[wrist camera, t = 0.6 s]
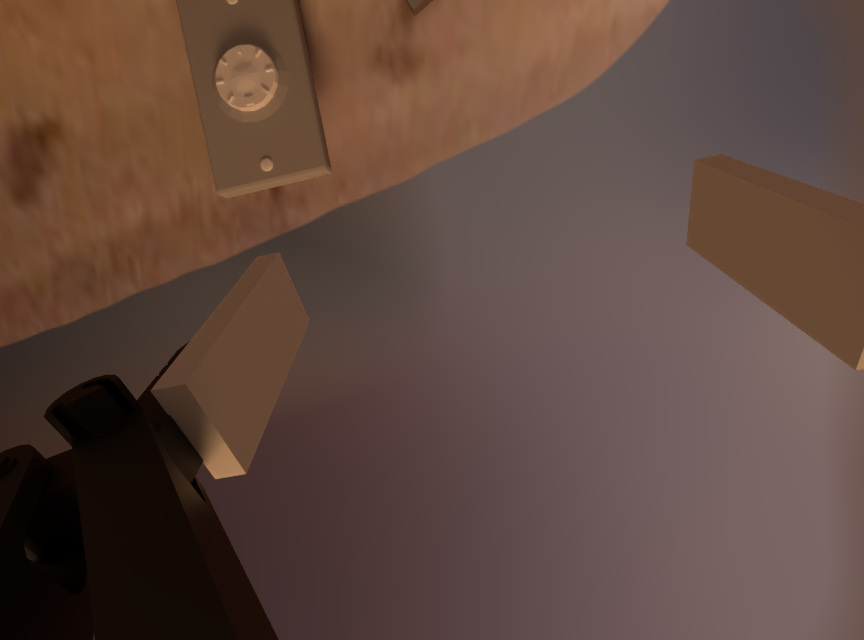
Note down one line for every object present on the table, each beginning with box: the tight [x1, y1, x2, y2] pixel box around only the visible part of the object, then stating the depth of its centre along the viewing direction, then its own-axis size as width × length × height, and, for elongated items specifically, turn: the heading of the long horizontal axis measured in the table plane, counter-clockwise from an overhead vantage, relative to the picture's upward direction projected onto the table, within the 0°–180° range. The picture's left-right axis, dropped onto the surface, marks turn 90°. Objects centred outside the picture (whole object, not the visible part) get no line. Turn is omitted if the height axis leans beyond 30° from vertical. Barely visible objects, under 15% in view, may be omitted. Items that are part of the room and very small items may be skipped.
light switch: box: [176, 0, 331, 198], centre depth 33 cm, size 8×6×14 cm
